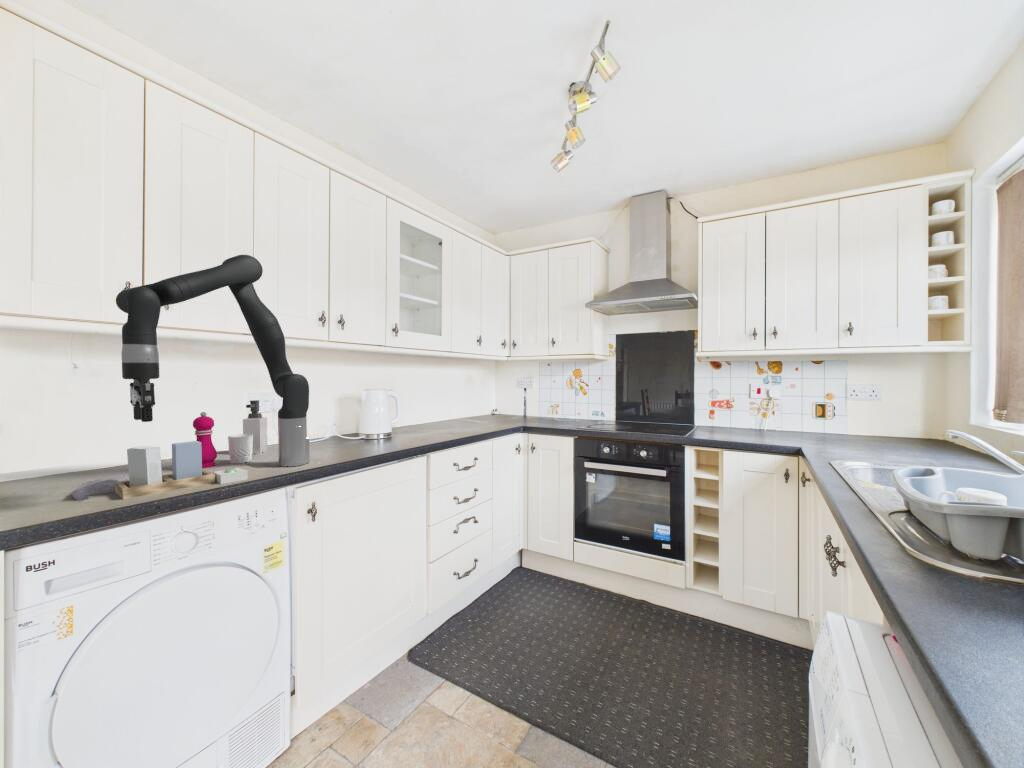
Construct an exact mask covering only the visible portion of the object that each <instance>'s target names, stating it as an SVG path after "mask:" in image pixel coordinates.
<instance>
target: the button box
mask: <svg viewBox="0 0 1024 768" xmlns="http://www.w3.org/2000/svg"><path fill="white" fill-rule="evenodd" d="M233 469H235V472H230V473H225V470H226V469H223V470H217V471H212V473H213V474H215V483H217V484H220V485H223V484H228V483H234V482H240V481H246V480H249V476H248V474H249V473H248V472H249V471H248V470H247V469H243V468H240V467H235V468H234V467H233Z"/></svg>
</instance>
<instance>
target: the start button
mask: <svg viewBox="0 0 1024 768" xmlns="http://www.w3.org/2000/svg"><path fill="white" fill-rule="evenodd" d="M224 470H225V473H230V472H235V469H234V468H229V469H228V468H227V469H224Z"/></svg>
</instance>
